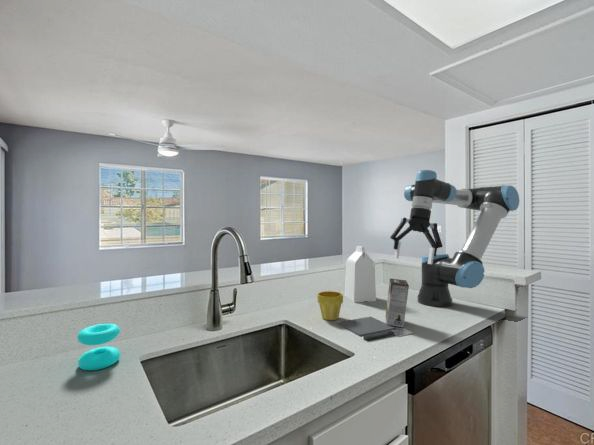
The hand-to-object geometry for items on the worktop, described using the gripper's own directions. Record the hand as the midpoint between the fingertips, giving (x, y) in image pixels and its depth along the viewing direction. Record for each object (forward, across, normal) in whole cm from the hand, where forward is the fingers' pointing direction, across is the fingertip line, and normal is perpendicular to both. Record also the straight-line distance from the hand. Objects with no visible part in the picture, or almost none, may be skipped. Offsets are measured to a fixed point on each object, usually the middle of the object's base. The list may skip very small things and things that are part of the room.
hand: (413, 261), depth 126 cm
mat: (+27, -16, -6) cm, 32 cm away
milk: (+23, -10, +34) cm, 42 cm away
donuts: (+44, -96, -34) cm, 111 cm away
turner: (+27, -10, -14) cm, 32 cm away
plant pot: (+29, -28, +4) cm, 40 cm away
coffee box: (+25, -4, -2) cm, 25 cm away
